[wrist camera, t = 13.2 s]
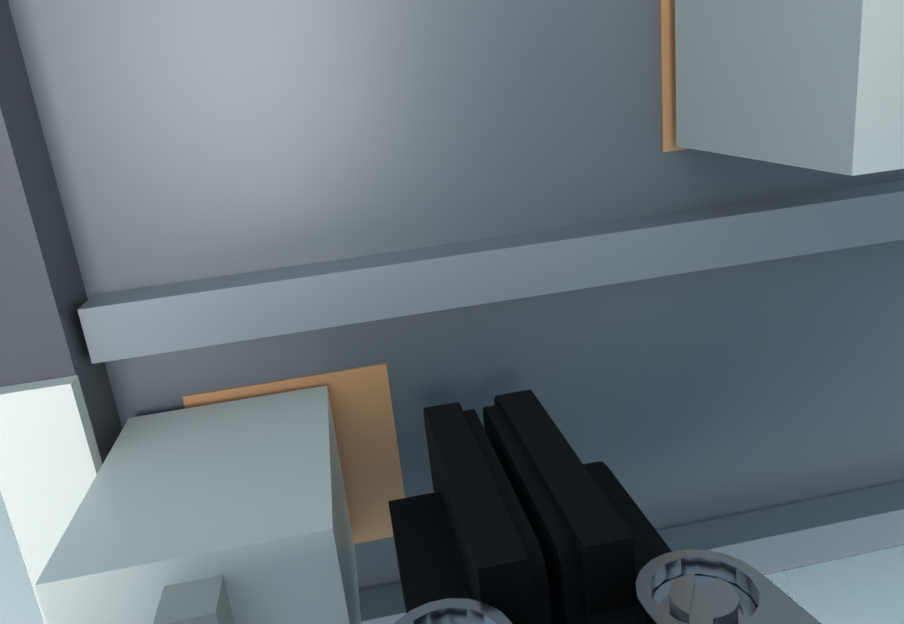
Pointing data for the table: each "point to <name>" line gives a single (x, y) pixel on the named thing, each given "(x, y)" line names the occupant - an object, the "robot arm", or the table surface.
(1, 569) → the table surface
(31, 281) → the grey compartment tray
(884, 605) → the table surface
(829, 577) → the table surface
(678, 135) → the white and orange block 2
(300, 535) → the pale grey rectangular block
